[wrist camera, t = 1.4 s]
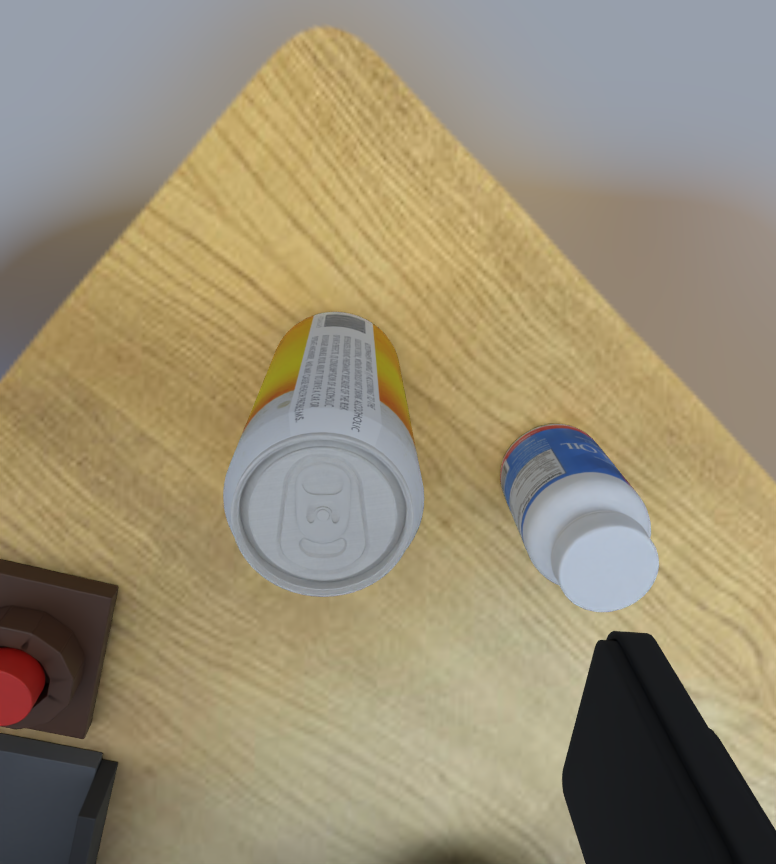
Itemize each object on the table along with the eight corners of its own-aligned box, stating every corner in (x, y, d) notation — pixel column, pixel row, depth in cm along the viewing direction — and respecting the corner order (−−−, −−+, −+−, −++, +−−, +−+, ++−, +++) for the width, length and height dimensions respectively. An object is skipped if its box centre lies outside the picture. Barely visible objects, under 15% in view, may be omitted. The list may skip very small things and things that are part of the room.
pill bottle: (622, 460, 37) (708, 562, 28) (551, 532, 38) (611, 651, 29) (546, 399, 35) (611, 485, 26) (475, 476, 37) (514, 583, 28)
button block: (-51, 696, 41) (-81, 736, 38) (-35, 550, 37) (-67, 583, 34) (91, 724, 42) (72, 765, 39) (119, 585, 38) (100, 619, 36)
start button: (-29, 694, 37) (-46, 718, 36) (-22, 640, 36) (-40, 663, 35) (41, 707, 38) (27, 732, 36) (50, 655, 37) (36, 678, 35)
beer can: (275, 427, 35) (222, 608, 21) (271, 306, 33) (210, 419, 19) (396, 429, 36) (421, 608, 22) (401, 309, 33) (433, 424, 20)
